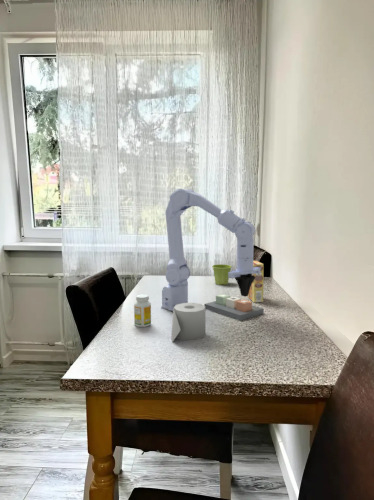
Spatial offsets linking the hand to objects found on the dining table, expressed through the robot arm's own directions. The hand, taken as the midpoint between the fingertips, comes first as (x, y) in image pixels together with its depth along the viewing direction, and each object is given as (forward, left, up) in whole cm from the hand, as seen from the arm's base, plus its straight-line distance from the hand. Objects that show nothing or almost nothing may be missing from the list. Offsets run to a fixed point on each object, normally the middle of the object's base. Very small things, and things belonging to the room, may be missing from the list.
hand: (244, 295), depth 127 cm
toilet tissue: (-29, -3, -7) cm, 30 cm away
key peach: (0, 0, -5) cm, 5 cm away
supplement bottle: (-33, +14, -7) cm, 37 cm away
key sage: (0, +10, -5) cm, 12 cm away
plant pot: (+28, +39, -7) cm, 49 cm away
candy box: (+18, +10, -7) cm, 22 cm away
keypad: (0, +5, -7) cm, 9 cm away
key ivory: (0, +5, -5) cm, 7 cm away
